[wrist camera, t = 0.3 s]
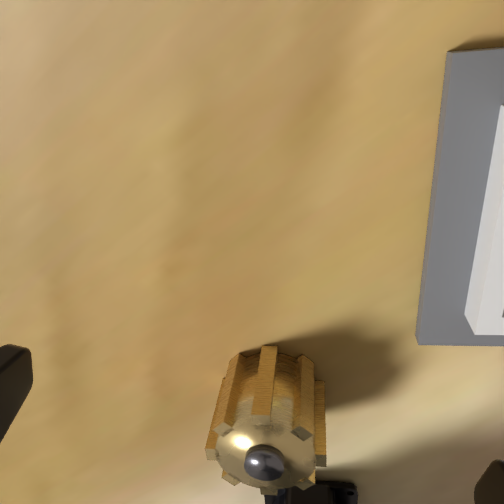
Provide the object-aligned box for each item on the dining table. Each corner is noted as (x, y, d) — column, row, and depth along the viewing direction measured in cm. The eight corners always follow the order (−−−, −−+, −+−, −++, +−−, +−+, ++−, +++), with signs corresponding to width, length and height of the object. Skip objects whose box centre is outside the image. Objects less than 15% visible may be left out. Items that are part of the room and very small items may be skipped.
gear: (324, 422, 27) (326, 510, 22) (229, 418, 28) (211, 501, 23) (323, 346, 24) (325, 428, 20) (217, 344, 25) (194, 422, 20)
